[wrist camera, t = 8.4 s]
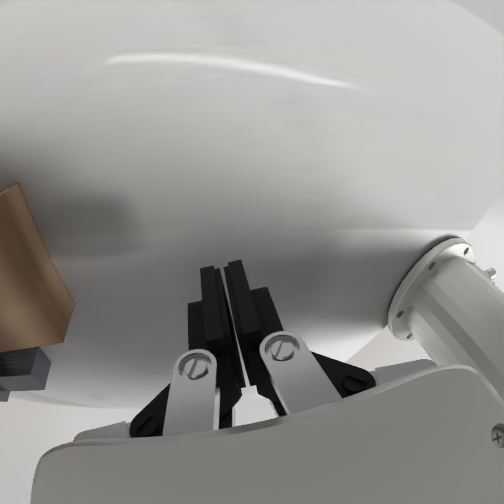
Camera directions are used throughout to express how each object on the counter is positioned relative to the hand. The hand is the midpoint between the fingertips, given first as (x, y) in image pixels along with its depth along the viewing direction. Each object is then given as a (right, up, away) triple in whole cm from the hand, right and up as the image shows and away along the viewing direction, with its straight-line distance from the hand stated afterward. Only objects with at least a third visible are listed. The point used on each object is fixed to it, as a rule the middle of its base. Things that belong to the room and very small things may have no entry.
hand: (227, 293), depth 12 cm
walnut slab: (-17, +1, +2) cm, 18 cm away
